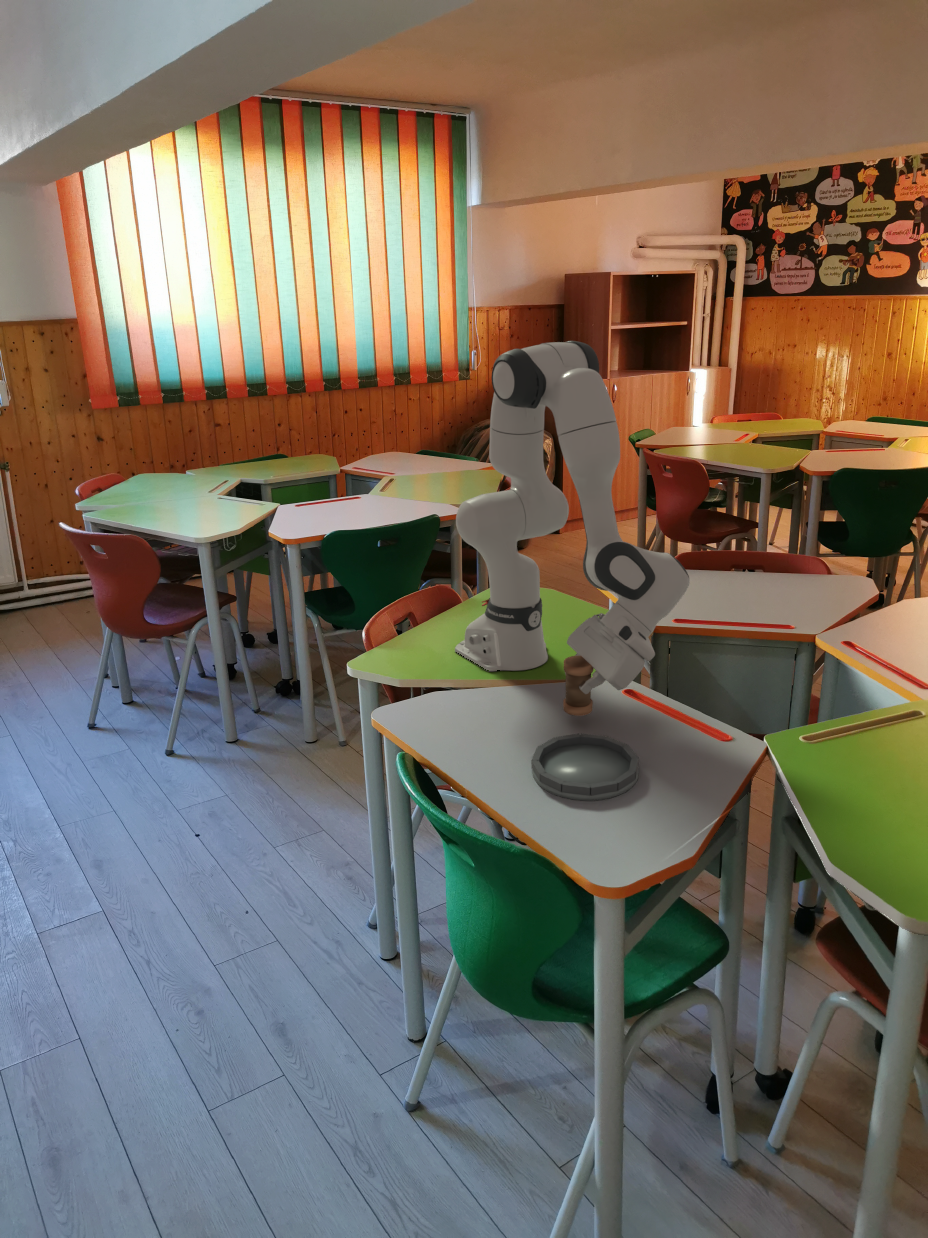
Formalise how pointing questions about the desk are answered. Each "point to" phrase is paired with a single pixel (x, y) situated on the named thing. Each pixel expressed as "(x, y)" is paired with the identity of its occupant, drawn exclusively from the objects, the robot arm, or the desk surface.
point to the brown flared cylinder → (574, 697)
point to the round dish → (585, 767)
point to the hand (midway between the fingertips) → (575, 684)
